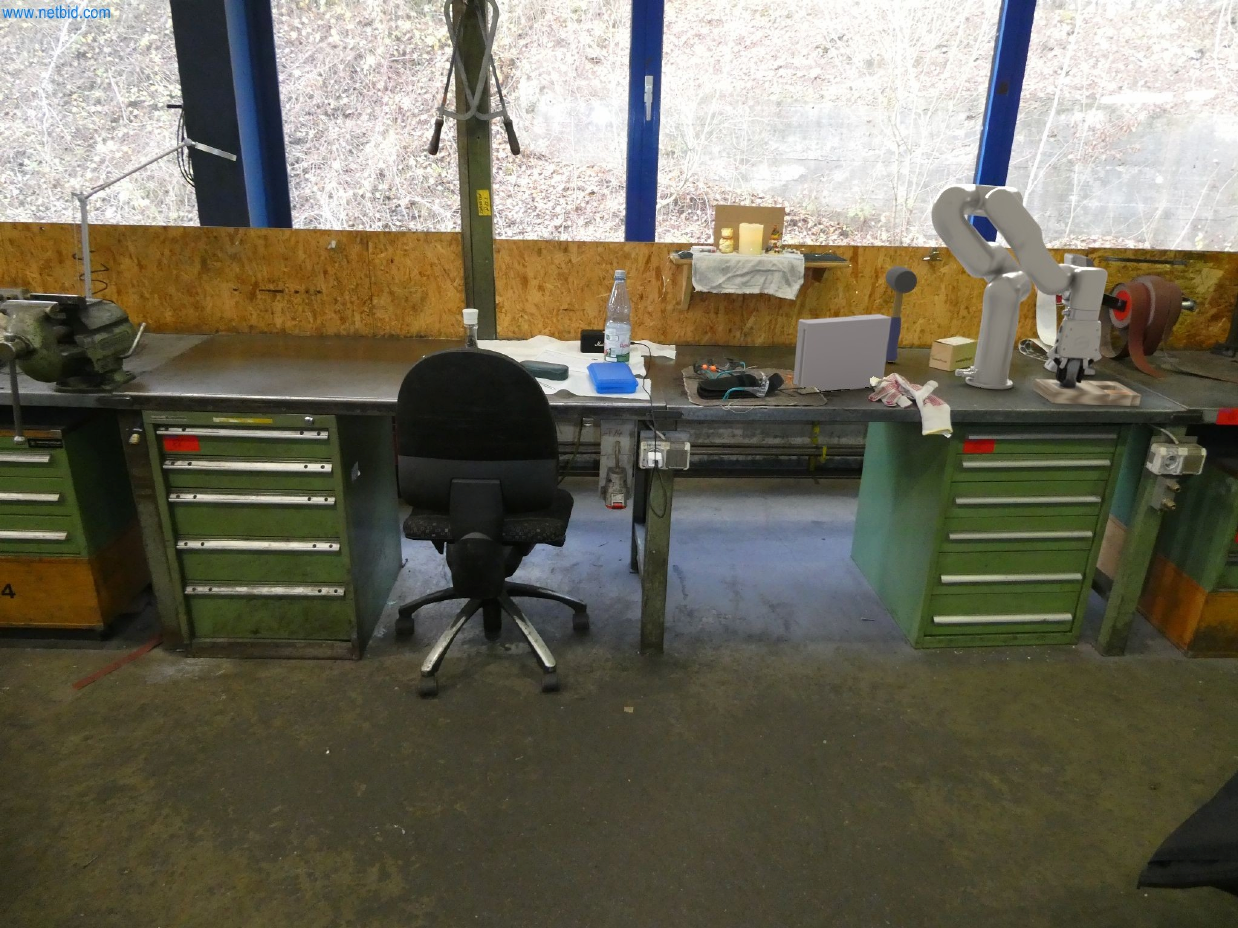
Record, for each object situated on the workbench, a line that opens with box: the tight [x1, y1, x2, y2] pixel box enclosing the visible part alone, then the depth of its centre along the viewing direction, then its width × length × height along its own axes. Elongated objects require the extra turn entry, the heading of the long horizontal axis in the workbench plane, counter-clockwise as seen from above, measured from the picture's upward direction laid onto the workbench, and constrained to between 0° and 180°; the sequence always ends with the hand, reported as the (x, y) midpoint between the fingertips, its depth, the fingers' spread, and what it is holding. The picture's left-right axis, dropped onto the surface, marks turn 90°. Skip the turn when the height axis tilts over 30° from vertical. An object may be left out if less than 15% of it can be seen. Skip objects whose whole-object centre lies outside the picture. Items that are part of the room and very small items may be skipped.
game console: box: [792, 313, 892, 391], centre depth 226 cm, size 6×27×20 cm, turn 111°
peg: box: [1059, 358, 1082, 388], centre depth 220 cm, size 4×4×9 cm
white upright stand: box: [1043, 252, 1096, 376], centre depth 245 cm, size 12×13×35 cm
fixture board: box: [1032, 378, 1142, 407], centre depth 222 cm, size 22×14×3 cm, turn 84°
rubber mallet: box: [885, 265, 918, 362], centre depth 254 cm, size 12×8×30 cm, turn 176°
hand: (1068, 381), depth 221 cm, fingers closed on peg, 4 cm apart
